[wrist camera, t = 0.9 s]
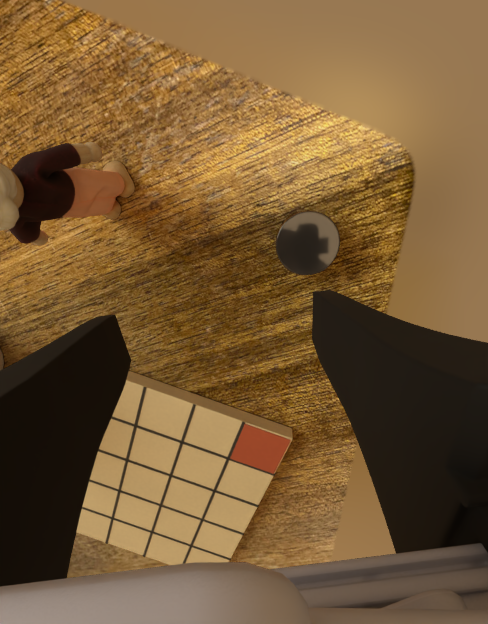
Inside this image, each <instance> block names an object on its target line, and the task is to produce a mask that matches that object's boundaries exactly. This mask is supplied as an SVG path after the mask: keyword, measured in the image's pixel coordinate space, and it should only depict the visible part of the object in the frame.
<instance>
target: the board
mask: <svg viewBox="0 0 488 624" xmlns="http://www.w3.org/2000/svg"><path fill="white" fill-rule="evenodd" d="M292 439H293V436H292V428H290V427H287V426H284V425H281V424H279V423H276V422H273V421H270V420H267V419H264V418H262V417H259V416H256V415H253V414H250V413H247V412H245V411H242V410H239V409H236V408H233V407H230V406H228V405H225V404H222V403H219V402H216V401H214V400H211V399H208V398H205V397H202V396H199V395H197V394H194V393H191V392H188V391H185V390H182V389H180V388H177V387H174V386H171V385H168V384H165V383H163V382H160V381H157V380H154V379H151V378H148V377H146V376H143V375H140V374H137V373H134V372H131V371H129V372H128V376H127V380H126V383H125V386H124V389H123V391H122V394H121V396H120V398H119V401H118V403H117V406H116V408H115V410H114V413H113V415H112V418H111V420H110V422H109V425H108V427H107V430H106V432H105V434H104V437H103V439H102V442H101V445H100V447H99V450H98V453H97V456H96V460H95V463H94V466H93V470H92V473H91V477H90V480H89V484H88V487H87V491H86V495H85V499H84V503H83V506H82V510H81V514H80V518H79V523H78V527H77V531H76V532H77V533H80V534H83V535H86V536H89V537H92V538H94V539H97V540H100V541H103V542H105V543H106V544H108V543H109V544H112V545H115V546H117V547H120V548H123V549H126V550H129V551H132V552H135V553H138V554H140V555H143V556H144V557H145V556H146V557H149V558H152V559H155V560H158V561H161V562H163V563H166V564H169V565H178V564H186V563H194V562H229V561H230V560H231V557H232V555H233V553H234V551H235V549H236V547H237V545H238V543H239V541H240V540H241V538H242V536H243V535H244V532H245V530H246V528H247V526H248V524H249V522H250V520H251V518H252V516H253V515H254V513H255V511H256V509H257V507H258V506H259V503H260V501H261V499H262V497H263V495H264V493H265V491H266V490H267V488H268V486H269V484H270V482H271V480H272V478H273V476H274V475H275V472H276V470H277V468H278V466H279V465H280V463H281V461H282V459H283V457H284V455H285V453H286V451H287V449H288V447H289V445H290V443H291V441H292Z"/></svg>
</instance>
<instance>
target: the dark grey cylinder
mask: <svg viewBox="0 0 488 624" xmlns="http://www.w3.org/2000/svg"><path fill="white" fill-rule="evenodd" d="M339 247H340V236H339V232H338V229H337V227H336V225H335V224H334V222H333V221H332V220H331V219H330V218H329V217H328V216H326V215H324V214H322V213H320V212H316V211H299V212H296V213H293V214H292V215H290V216H288V217H287V218H286V219H285V220H284V221H283V222H282V224H281V225H280V227H279V229H278V232H277V236H276V252H277V255H278V258H279V260H280V262H281V263H282V264H283V265H284V266H285V267H286V268H287V269H288V270H290V271H291V272H293V273H296V274H299V275H313V274H316V273H319V272H321V271H323V270H325V269H326V268H327V267H328V266H330V264H331V263H332V262H333V261H334V259H335V258H336V256H337V254H338V251H339Z"/></svg>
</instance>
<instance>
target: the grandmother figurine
mask: <svg viewBox="0 0 488 624" xmlns="http://www.w3.org/2000/svg"><path fill="white" fill-rule="evenodd" d="M101 158H102V150H101V148H100V147H99V146H98V145H97V144H96V143H93V142H88V143H86V144H81V143H78V144H69V143H65V144H61V145H58V146H55V147H52V148H49V149H47V150H43V151H38V152H34V153H30V154H28V155H26V156H24V157H22V158H21V159H20V160H19V161H18V162H17V164H16V165H15V166H14V167H13V168H12V169H9V168H8V167H7V166H5V165H4V164H2V163H0V230H7V229H9V230H10V231H11V233H12V234H13V235H14V236H15V237H16V238H17V239H18V240H19V241H20V242H21V243H25V244H26V243H33V244H35V245H44V244H45V243H47V241H48V236H47V234H46V233H45V232H44V231H41V230H40V225H41V221H45V220H52V219H57V218H61V217H78V218H79V217H88V216H96V215H103V216H105V217H107V218H109V219H111V220H115V219H117V218H118V217H119V215H120V213H121V206H120V204H119V203H118V202H117V201H116V200H115V199H116V196H118V195H120V196H121V197H124V198H126V197H129V196H130V195H132V193H133V192H134V189H135V186H134V183H133V181H132V179H131V177H130V175H129V173H128V172H127V170H126V168H125V166H124V165H123V164H122V163H121V162H119V161H111V162H109V163H107V164H106V165H105V166H104V169H103V171H98V170H90V169H84V168H73V167H75V166H78V165H80V164H85V163H88V162H89V161H92V162H97V161H99V160H100V159H101Z"/></svg>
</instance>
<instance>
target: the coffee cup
mask: <svg viewBox="0 0 488 624" xmlns="http://www.w3.org/2000/svg"><path fill="white" fill-rule="evenodd" d="M3 366H4V359H3V354H2V352H1V349H0V370H2V369H3Z"/></svg>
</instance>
